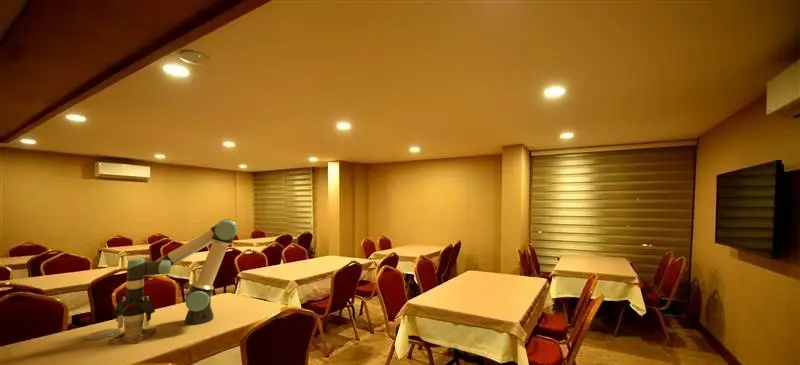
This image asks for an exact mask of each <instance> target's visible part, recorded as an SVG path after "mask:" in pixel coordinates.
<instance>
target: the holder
mask: <svg viewBox="0 0 800 365" xmlns="http://www.w3.org/2000/svg"><path fill="white" fill-rule="evenodd" d="M155 333H157V328H155V327H151V328H142V332H141V336H140V337H138V338H126V335H125V331H124V332H121V333H119V334H117V335H115V336H113V337H111V338H109V339H108V345H120V344H121V345H125V344H139V343H141V342H142V341H144V340H146V339H147V338H149V337H151V336H152V335H155Z"/></svg>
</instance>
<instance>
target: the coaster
mask: <svg viewBox="0 0 800 365" xmlns="http://www.w3.org/2000/svg"><path fill="white" fill-rule="evenodd" d="M120 332H121V328H119V329H117V328H105V329H101V330H97V331H94V332H91V333H89V334H87V335H86V336H85V340H86V341H91V342H92V341H99V340H104V339H108V338H109V339H110V338H113V337H116V336H117V335H119V334H121V333H120Z"/></svg>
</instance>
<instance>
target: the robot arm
mask: <svg viewBox="0 0 800 365" xmlns="http://www.w3.org/2000/svg"><path fill="white" fill-rule="evenodd" d="M237 233H238V226H237V223H236V222H235V221H234V220H232V219H231V218H225V219H222V220H220V221H219V222H218V223H217V224H215V225H213V226H212V227H209V230H208V231H206V232H205V233H203V234H201V235H199V236H197V237H195V238H194V239H192V240H190V241H189V242H187V243H185V244H183V245H181V246H179V247H178V248H175V249H174V250H171V251H170V252H168V253H167V254H165V255H163V256H162V257H159V258H158V259H156V260H154V261H146V259H145V258H143V257H141V258H132V259H129V260H128V261H127V267H126V282H125V283H126V284H125V285H126V289H125V296H121V297H119V302H118V303H117V305H116V307H115V309H114V311H113V312H112V315H113V316H116V319H115V320H116V323H117V327H116V329H121V328H123V327H124V316H122V315H123V313H124V311H125V310H128V309H129V308H128V307H130V306H138V307H140V308H141V309H142V310H143V311H144V312H145V313H144V322H143V329H147V328H148V327H150V321H151V320H152V314H154V313H156V310H155V307H154V306H153V303H152V301H151V299H150V295H146V296H144V292H145V290H144V289H145V288H144V286H145V277H147V276H159V275H160V276H161V275H168V274H170V273H171V270H172V269H171V268H172V267H173V266H174V265H176V264H177V263H179V262H181V261H183V260H185V259H186V258H189V257H190V256H192V255H194V254H195V253H197V252H199V251H200V250H201V251H202V249H204V248H205V247H207V246H209V245H211V246H210V248H209V251H208V253H207V256H206V258H205V260H204V263H203V265H202V268H201V271H200V272H199V275H198V277H197V280H196V281H195V282H194V283H190V284H189V287H188V294H187V297H186V298H185V307H186V308H187V309H188V310H187V313H186V315H185V317H184V318H185V319H184V323H185V325H188V326H190V325H191V326H192V325H200V324H201V325H202V324H204V323H208V322H210V321H213V320H214V312H213V310H212V306H211V300H212V294H213V291H214V289H215V287H214V285H213V284H214V281H215V279H216V277H217V274H218V271H219V269H220V267H221V265H222V262H223V260H224V257H225V254H226V251H227V249H228V247H229V246H231V245H232V243H233V241H234V239H235V237H236V235H237Z"/></svg>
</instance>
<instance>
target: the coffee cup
mask: <svg viewBox="0 0 800 365" xmlns="http://www.w3.org/2000/svg"><path fill="white" fill-rule="evenodd" d="M121 315H122V316H123V327H124V328H123V329H124V332H125V335H126V336H125V338H138V337H140V336H141V335H142V334H141V332H142V329H144V319H145V312H144V311H143V310H142V309H141V308H140V307H139V306H138V307H132V308H127V309H126V310H125V311H124V312H123V313H122V314H121Z"/></svg>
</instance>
